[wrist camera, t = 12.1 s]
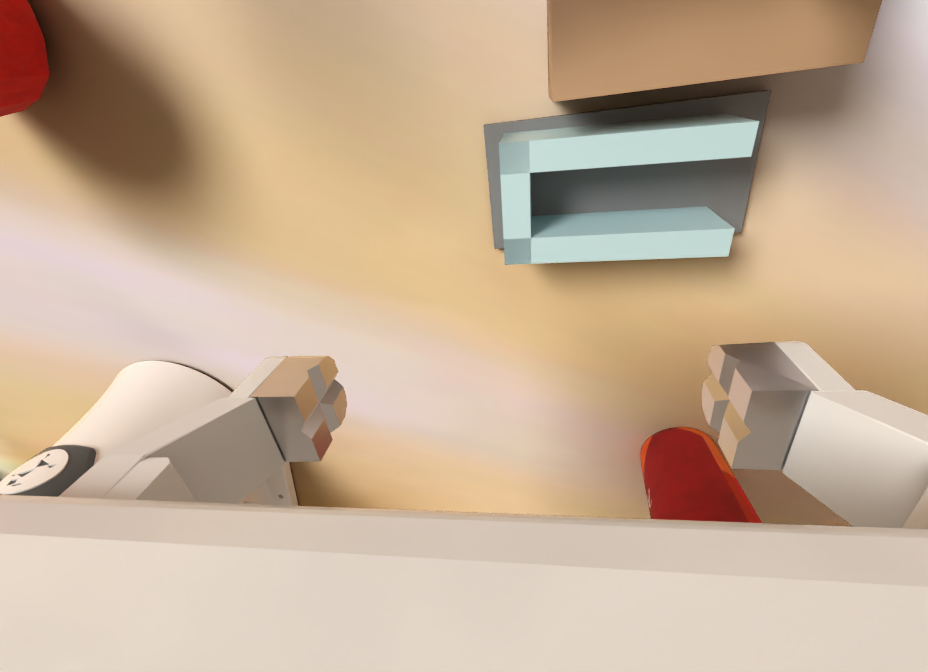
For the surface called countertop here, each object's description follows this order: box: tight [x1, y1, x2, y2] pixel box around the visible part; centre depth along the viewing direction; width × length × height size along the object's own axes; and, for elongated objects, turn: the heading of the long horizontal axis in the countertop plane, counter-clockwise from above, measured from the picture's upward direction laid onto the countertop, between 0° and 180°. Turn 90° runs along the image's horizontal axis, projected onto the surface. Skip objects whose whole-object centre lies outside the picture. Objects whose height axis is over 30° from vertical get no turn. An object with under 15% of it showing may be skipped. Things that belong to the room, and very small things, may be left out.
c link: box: [499, 114, 759, 265], centre depth 22 cm, size 11×6×4 cm, turn 95°
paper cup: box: [640, 427, 762, 523], centre depth 28 cm, size 8×8×14 cm
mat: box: [484, 90, 771, 249], centre depth 24 cm, size 7×14×1 cm, turn 97°
